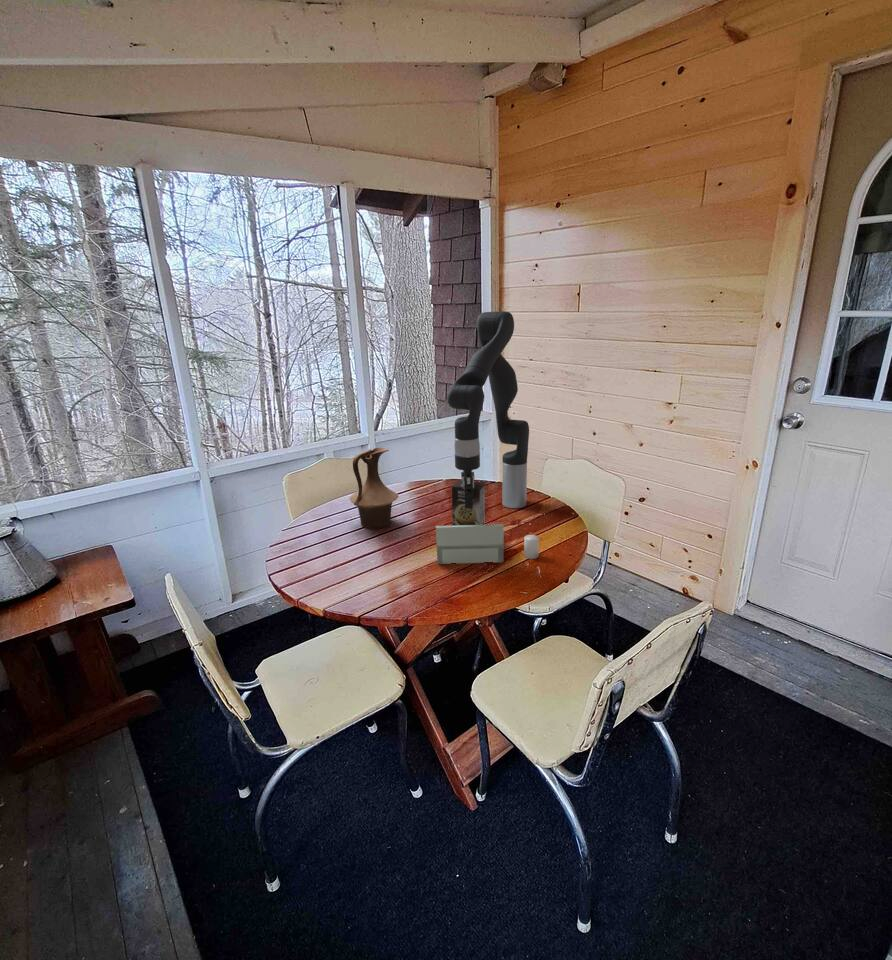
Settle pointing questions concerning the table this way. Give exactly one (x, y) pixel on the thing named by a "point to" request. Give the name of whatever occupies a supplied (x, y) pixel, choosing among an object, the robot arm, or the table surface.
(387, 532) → the table surface
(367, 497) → the pitcher
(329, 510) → the table surface
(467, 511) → the coffee box
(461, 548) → the mint green corner panel
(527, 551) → the white rounded capsule
